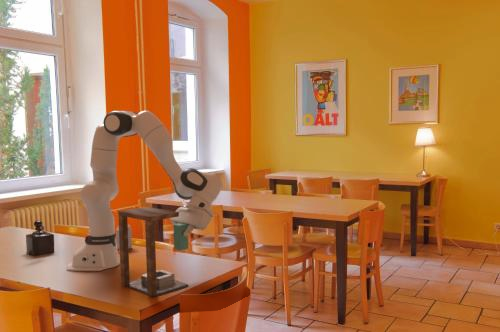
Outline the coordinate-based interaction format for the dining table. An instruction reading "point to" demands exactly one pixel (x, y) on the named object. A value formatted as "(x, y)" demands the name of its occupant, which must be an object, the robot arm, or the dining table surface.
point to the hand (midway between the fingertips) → (179, 234)
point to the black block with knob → (39, 241)
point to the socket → (158, 283)
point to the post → (180, 236)
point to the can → (128, 238)
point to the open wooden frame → (150, 217)
